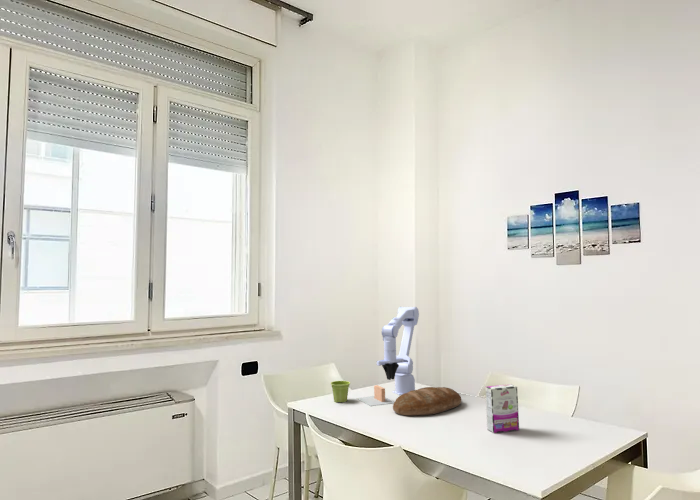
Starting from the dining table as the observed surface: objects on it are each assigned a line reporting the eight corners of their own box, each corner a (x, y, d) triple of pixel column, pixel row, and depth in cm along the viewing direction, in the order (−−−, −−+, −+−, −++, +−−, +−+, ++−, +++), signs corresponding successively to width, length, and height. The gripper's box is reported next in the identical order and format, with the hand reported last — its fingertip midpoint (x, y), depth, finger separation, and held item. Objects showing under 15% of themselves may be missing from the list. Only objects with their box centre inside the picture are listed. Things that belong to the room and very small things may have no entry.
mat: (380, 396, 249) (380, 395, 249) (396, 403, 234) (396, 402, 234) (356, 398, 244) (356, 398, 244) (370, 406, 229) (370, 405, 229)
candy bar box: (512, 426, 196) (510, 383, 197) (519, 430, 191) (518, 386, 192) (486, 429, 193) (484, 385, 194) (493, 433, 188) (491, 388, 189)
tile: (377, 397, 244) (377, 385, 244) (385, 401, 236) (384, 388, 237) (374, 398, 243) (374, 385, 243) (381, 401, 236) (381, 388, 236)
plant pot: (354, 400, 241) (354, 381, 242) (343, 404, 233) (343, 385, 234) (337, 398, 246) (337, 380, 247) (326, 402, 238) (326, 383, 239)
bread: (473, 405, 230) (473, 386, 230) (418, 421, 206) (418, 400, 206) (435, 396, 247) (435, 379, 247) (380, 411, 222) (380, 391, 223)
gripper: (397, 348, 250) (397, 376, 250) (372, 350, 243) (373, 379, 242) (406, 349, 244) (406, 378, 244) (381, 352, 237) (381, 382, 236)
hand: (390, 379), depth 242 cm, fingers closed
